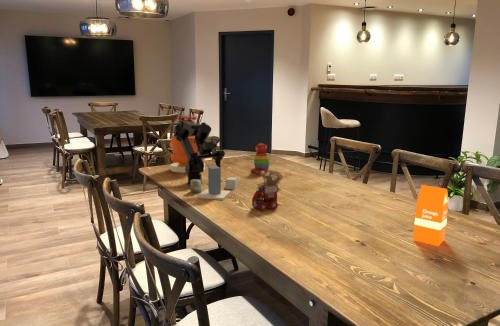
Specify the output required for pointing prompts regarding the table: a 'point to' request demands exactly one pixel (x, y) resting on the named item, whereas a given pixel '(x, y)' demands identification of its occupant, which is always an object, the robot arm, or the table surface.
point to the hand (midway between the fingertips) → (211, 170)
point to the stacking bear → (261, 159)
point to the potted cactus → (181, 149)
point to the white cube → (231, 183)
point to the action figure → (271, 177)
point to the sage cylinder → (195, 186)
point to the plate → (207, 195)
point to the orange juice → (431, 215)
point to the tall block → (214, 180)
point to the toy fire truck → (265, 198)
